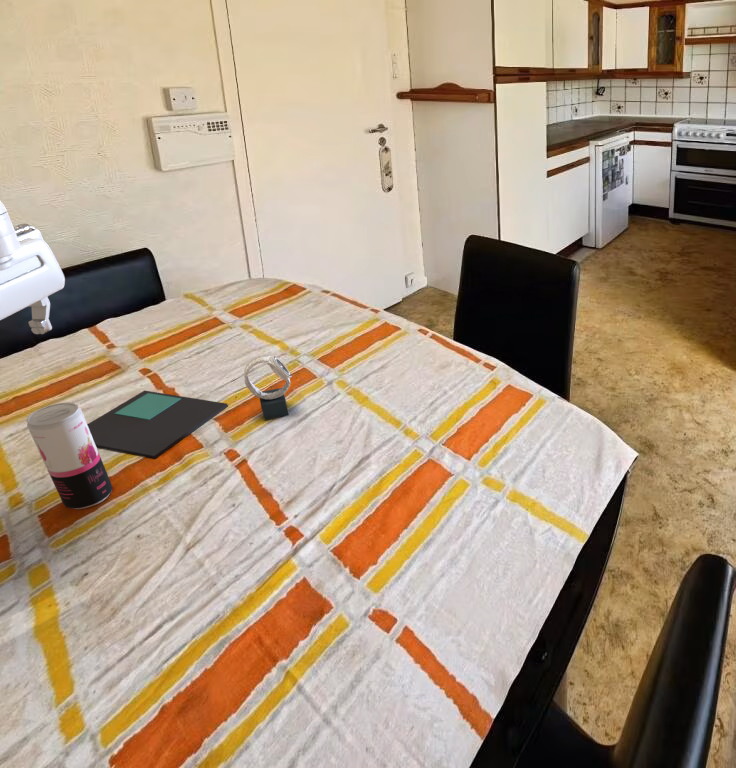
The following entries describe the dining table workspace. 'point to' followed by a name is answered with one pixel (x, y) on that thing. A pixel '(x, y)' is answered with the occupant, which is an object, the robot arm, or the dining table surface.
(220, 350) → the dining table surface
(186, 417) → the place mat
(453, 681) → the dining table surface
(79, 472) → the beverage can
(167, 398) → the corner pad
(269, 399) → the watch
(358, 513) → the dining table surface
